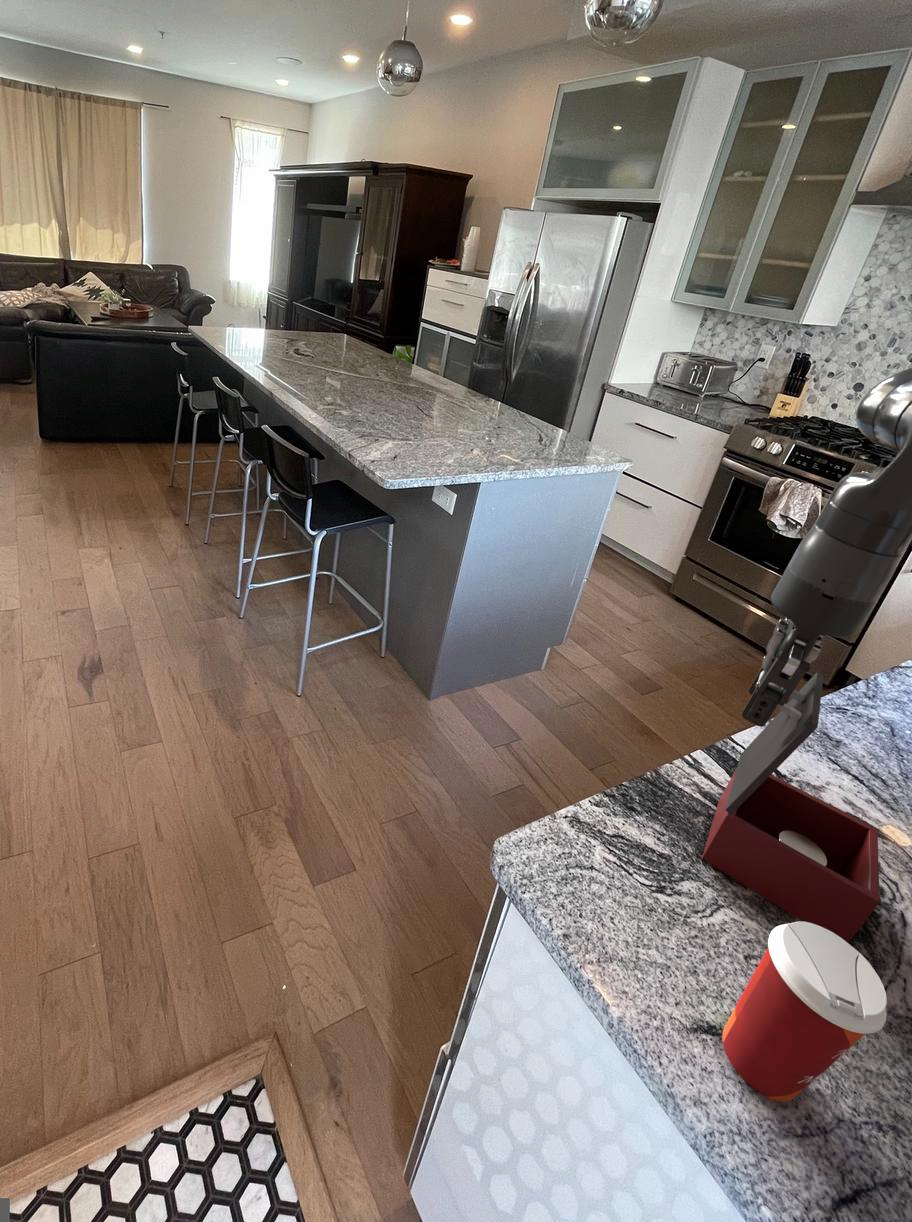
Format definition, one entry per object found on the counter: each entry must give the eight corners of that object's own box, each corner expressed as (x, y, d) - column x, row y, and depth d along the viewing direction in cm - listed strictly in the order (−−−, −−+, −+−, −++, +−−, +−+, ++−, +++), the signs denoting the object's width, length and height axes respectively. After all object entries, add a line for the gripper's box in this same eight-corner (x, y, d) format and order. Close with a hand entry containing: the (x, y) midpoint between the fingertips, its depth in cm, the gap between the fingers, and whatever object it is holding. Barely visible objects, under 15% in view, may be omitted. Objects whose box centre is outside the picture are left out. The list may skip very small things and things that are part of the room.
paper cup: (821, 1143, 49) (915, 1044, 43) (714, 1093, 51) (791, 992, 45) (792, 1036, 56) (869, 938, 50) (699, 995, 58) (763, 897, 52)
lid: (823, 675, 69) (775, 647, 72) (818, 727, 61) (763, 693, 63) (746, 758, 76) (704, 730, 79) (731, 815, 68) (684, 781, 70)
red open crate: (844, 876, 73) (877, 829, 69) (841, 951, 64) (880, 902, 61) (716, 804, 80) (741, 758, 77) (698, 863, 71) (726, 815, 68)
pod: (812, 872, 71) (828, 848, 70) (809, 900, 68) (826, 876, 66) (766, 846, 74) (781, 823, 72) (761, 871, 70) (777, 848, 69)
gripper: (795, 542, 69) (728, 664, 76) (783, 584, 58) (706, 720, 66) (877, 572, 65) (798, 697, 72) (881, 622, 55) (788, 763, 62)
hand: (755, 708), depth 69 cm, fingers closed on lid, 5 cm apart
